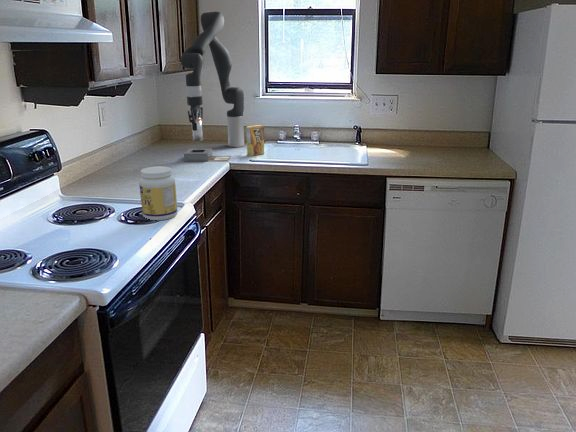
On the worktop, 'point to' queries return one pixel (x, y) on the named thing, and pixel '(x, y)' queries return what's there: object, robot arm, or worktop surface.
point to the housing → (198, 155)
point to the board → (215, 159)
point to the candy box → (255, 140)
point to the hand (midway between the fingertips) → (196, 129)
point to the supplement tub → (158, 193)
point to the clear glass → (198, 131)
